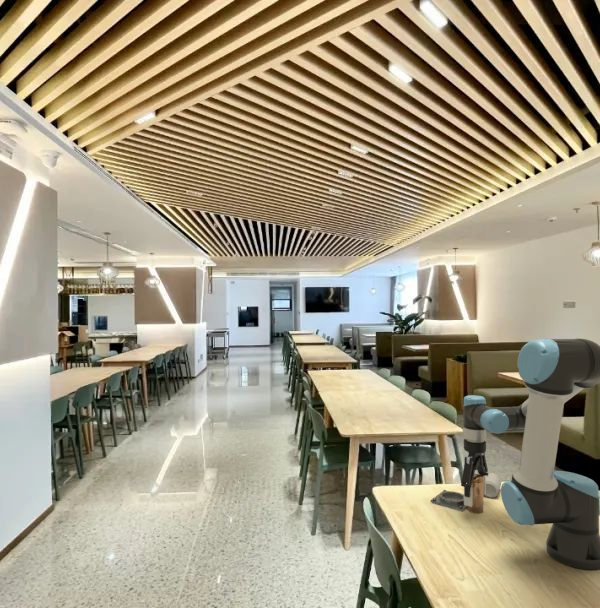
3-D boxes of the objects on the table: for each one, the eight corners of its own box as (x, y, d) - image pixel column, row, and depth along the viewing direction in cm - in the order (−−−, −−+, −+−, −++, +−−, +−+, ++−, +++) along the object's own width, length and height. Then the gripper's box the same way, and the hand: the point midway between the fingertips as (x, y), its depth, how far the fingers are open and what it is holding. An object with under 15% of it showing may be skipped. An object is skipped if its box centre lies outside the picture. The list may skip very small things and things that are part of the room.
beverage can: (478, 494, 176) (482, 484, 187) (496, 501, 173) (499, 490, 184) (482, 478, 176) (486, 469, 186) (500, 485, 173) (503, 475, 183)
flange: (474, 500, 173) (474, 495, 173) (462, 511, 163) (462, 505, 164) (443, 492, 180) (443, 487, 180) (430, 502, 171) (430, 497, 171)
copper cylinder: (486, 509, 165) (486, 475, 165) (480, 515, 161) (480, 480, 161) (470, 505, 169) (469, 472, 169) (464, 510, 164) (463, 476, 164)
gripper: (476, 430, 177) (476, 486, 177) (450, 445, 158) (451, 508, 158) (496, 434, 172) (497, 491, 172) (473, 449, 153) (473, 514, 153)
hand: (475, 499), depth 165 cm, fingers open, 13 cm apart
